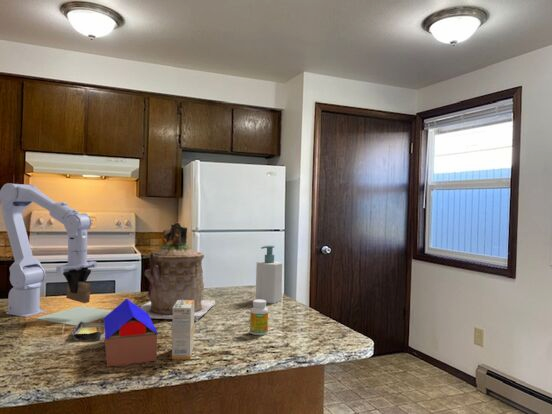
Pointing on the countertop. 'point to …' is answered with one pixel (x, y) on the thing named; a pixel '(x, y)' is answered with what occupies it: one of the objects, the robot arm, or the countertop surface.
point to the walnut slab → (80, 292)
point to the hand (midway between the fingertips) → (76, 292)
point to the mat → (76, 315)
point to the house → (129, 335)
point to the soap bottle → (269, 278)
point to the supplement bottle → (259, 318)
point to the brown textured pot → (175, 276)
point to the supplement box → (183, 329)
